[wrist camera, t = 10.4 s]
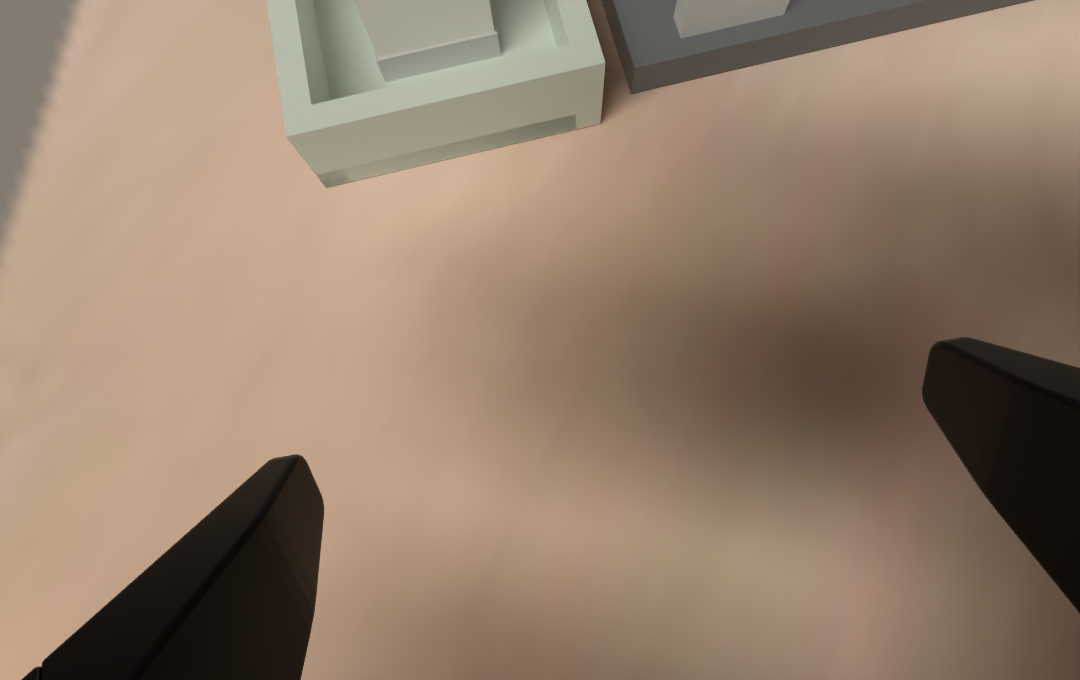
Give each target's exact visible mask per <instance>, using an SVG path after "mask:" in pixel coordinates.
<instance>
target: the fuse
mask: <svg viewBox="0 0 1080 680" xmlns="http://www.w3.org/2000/svg"><path fill="white" fill-rule="evenodd" d="M353 1H354V3H355V6H356V8H357V10H358V13H359V15H360V17H361V19H362V22H363V24H364V26H365V29H366V31H367V33H368V36H369V38H370V40H371V43H372V45H373V47H374V53H375V58H376V62H377V64H378V66H379V69H380V71H381V73H382V76H383V78H384V80H385V82H389V81H394V80H398V79H402V78H407V77H411V76H415V75H420V74H424V73H429V72H433V71H437V70H442V69H446V68H450V67H455V66H459V65H463V64H468V63H472V62H477V61H481V60H485V59H490V58H494V57H498V56H501V52H500V46H499V39H498V33H497V29H496V25H495V21H494V17H493V13H492V9H491V6H490V2H489V0H353Z"/></svg>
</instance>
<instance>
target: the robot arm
mask: <svg viewBox="0 0 1080 680" xmlns="http://www.w3.org/2000/svg"><path fill="white" fill-rule="evenodd" d="M922 396H923V400H924V403H925V405H926V407H927V409H928V410H929V412H930V413H931V415H932V417H933V418H934V420H935V421H936V423H937V424H938V426H939V427H940V429H941V430H942V432H943V433H944V435H945V436H946V438H947V440H948V441H949V443H950V444H951V446H952V447H953V449H954V450H955V452H956V453H957V455H958V456H959V458H960V459H961V461H962V462H963V464H964V466H965V467H966V469H967V470H968V472H969V473H970V475H971V476H972V478H973V479H974V481H975V482H976V484H977V485H978V487H979V488H980V489H981V491H982V492H983V494H984V495H985V496H986V498H987V499H988V500H989V502H990V503H991V504H992V505H993V507H994V508H995V509H996V511H997V512H998V513H999V514H1000V515H1001V517H1002V518H1003V519H1004V520H1005V522H1006V523H1007V524H1008V525H1009V527H1010V528H1011V529H1012V530H1013V532H1014V533H1015V534H1016V535H1017V536H1018V538H1019V539H1020V540H1021V541H1022V543H1023V544H1024V545H1025V546H1026V548H1027V549H1028V550H1029V551H1030V553H1031V554H1032V555H1033V556H1034V557H1035V559H1036V560H1037V561H1038V562H1039V564H1040V565H1041V566H1042V567H1043V569H1044V570H1045V571H1046V572H1047V574H1048V575H1049V576H1050V577H1051V578H1052V580H1053V581H1054V582H1055V583H1056V585H1057V586H1058V587H1059V588H1060V590H1061V591H1062V592H1063V593H1064V594H1065V596H1066V597H1067V598H1068V599H1069V601H1070V602H1071V603H1072V604H1073V606H1074V607H1075V608H1076V609H1077V611H1078V612H1079V613H1080V368H1078V367H1074V366H1071V365H1067V364H1063V363H1060V362H1056V361H1052V360H1049V359H1045V358H1042V357H1038V356H1034V355H1031V354H1027V353H1023V352H1020V351H1016V350H1012V349H1009V348H1005V347H1002V346H998V345H994V344H991V343H987V342H983V341H980V340H976V339H972V338H968V337H961V338H955V339H949V340H944V341H939V342H937V343H935V344H934V345H933V346H932V348H931V349H930V353H929V358H928V363H927V367H926V372H925V377H924V382H923V387H922ZM323 519H324V503H323V499H322V495H321V493H320V491H319V488H318V486H317V484H316V482H315V479H314V477H313V475H312V473H311V470H310V468H309V466H308V464H307V462H306V460H305V459H304V458H303V457H302V456H300V455H298V454H296V455H290V456H284V457H278V458H274V459H271V460H269V461H268V462H267V463H266V464H265V465H263V466H262V467H261V468H260V469H259V470H258V471H257V472H256V473H254V474H253V475H252V476H251V477H250V478H249V479H248V480H247V481H245V482H244V483H243V484H242V485H241V486H240V487H239V488H237V489H236V490H235V491H234V492H233V493H232V494H231V495H230V496H228V497H227V498H226V499H225V500H224V501H223V502H222V503H221V504H219V505H218V506H217V507H216V508H215V509H214V510H213V511H212V512H210V513H209V514H208V515H207V516H206V517H205V518H204V519H203V520H201V521H200V522H199V523H198V524H197V525H196V526H195V527H194V528H192V529H191V530H190V531H189V532H188V533H187V534H186V535H184V536H183V537H182V538H181V539H180V540H179V541H178V542H177V543H175V544H174V545H173V546H172V547H171V548H170V549H169V550H168V551H166V552H165V553H164V554H163V555H162V556H161V557H160V558H159V559H157V560H156V561H155V562H154V563H153V564H152V565H151V566H149V567H148V568H147V569H146V570H145V571H144V572H143V573H142V574H140V575H139V576H138V577H137V578H136V579H135V580H134V581H133V582H131V583H130V584H129V585H128V586H127V587H126V588H125V589H124V590H122V591H121V592H120V593H119V594H118V595H117V596H116V597H114V598H113V599H112V600H111V601H110V602H109V603H108V604H107V605H105V606H104V607H103V608H102V609H101V610H100V611H99V612H98V613H96V614H95V615H94V616H93V617H92V618H91V619H90V620H89V621H87V622H86V623H85V624H84V625H83V626H82V627H81V628H79V629H78V630H77V631H76V632H75V633H74V634H73V635H72V636H70V637H69V638H68V639H67V640H66V641H65V642H64V643H63V644H61V645H60V646H59V647H58V648H57V649H56V650H55V651H54V652H52V653H51V654H50V655H49V656H48V657H47V658H46V659H45V660H44V661H43V662H42V667H36V668H34V669H33V670H32V671H31V672H30V673H28V674H27V675H26V676H25V677H24V678H23V679H22V680H301V675H302V670H303V666H304V661H305V656H306V652H307V647H308V642H309V637H310V633H311V627H312V622H313V617H314V610H315V602H316V593H317V583H318V572H319V561H320V551H321V540H322V530H323Z"/></svg>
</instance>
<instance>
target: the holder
mask: <svg viewBox="0 0 1080 680" xmlns="http://www.w3.org/2000/svg"><path fill="white" fill-rule="evenodd" d="M1027 1H1032V0H602V3H603V6H604V10H605V13H606V16H607V19H608V22H609V25H610V29H611V32H612V35H613V38H614V41H615V45H616V48H617V51H618V54H619V57H620V60H621V64H622V67H623V70H624V73H625V76H626V80H627V83H628V86H629V89H630V92H631V94H632V93H636V92H641V91H645V90H649V89H653V88H658V87H662V86H666V85H671V84H675V83H679V82H684V81H688V80H692V79H696V78H701V77H705V76H709V75H714V74H718V73H722V72H727V71H731V70H735V69H739V68H744V67H748V66H752V65H757V64H761V63H765V62H770V61H774V60H778V59H782V58H787V57H791V56H795V55H800V54H804V53H808V52H813V51H817V50H821V49H825V48H830V47H834V46H838V45H843V44H847V43H851V42H855V41H860V40H864V39H868V38H873V37H877V36H881V35H886V34H890V33H894V32H898V31H903V30H907V29H911V28H916V27H920V26H924V25H929V24H933V23H937V22H941V21H946V20H950V19H954V18H959V17H963V16H967V15H972V14H976V13H980V12H984V11H989V10H993V9H997V8H1002V7H1006V6H1010V5H1015V4H1019V3H1023V2H1027Z"/></svg>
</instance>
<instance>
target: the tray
mask: <svg viewBox="0 0 1080 680" xmlns="http://www.w3.org/2000/svg"><path fill="white" fill-rule="evenodd" d="M489 2H490V6H491V9H492V13H493V17H494V21H495V25H496V29H497V33H498V39H499V46H500V52H501V56H498V57H494V58H490V59H485V60H481V61H477V62H472V63H468V64H463V65H459V66H455V67H450V68H446V69H442V70H437V71H433V72H429V73H424V74H420V75H415V76H411V77H407V78H402V79H398V80H394V81H389V82H385V80H384V78H383V76H382V73H381V71H380V69H379V66H378V64H377V62H376V58H375V53H374V47H373V45H372V43H371V40H370V38H369V36H368V33H367V31H366V29H365V26H364V24H363V22H362V19H361V17H360V15H359V13H358V10H357V8H356V6H355V3H354V1H353V0H267V6H268V13H269V20H270V27H271V34H272V41H273V48H274V55H275V62H276V69H277V76H278V83H279V90H280V97H281V104H282V111H283V118H284V125H285V132H286V137H287V138H288V140H289V141H290V142H291V144H292V145H293V146H294V147H295V149H296V150H297V151H298V153H299V154H300V155H301V156H302V158H303V159H304V160H305V161H306V163H307V164H308V165H309V167H310V168H311V169H312V170H313V172H314V173H315V174H316V176H317V177H318V178H319V179H320V181H321V182H322V183H323V184H324V186H325V187H326V188H327V187H331V186H335V185H340V184H344V183H348V182H353V181H357V180H361V179H365V178H370V177H374V176H378V175H383V174H387V173H391V172H395V171H400V170H404V169H408V168H413V167H417V166H421V165H425V164H430V163H434V162H438V161H443V160H447V159H451V158H456V157H460V156H464V155H468V154H473V153H477V152H481V151H486V150H490V149H494V148H498V147H503V146H507V145H511V144H516V143H520V142H524V141H528V140H533V139H537V138H541V137H546V136H550V135H554V134H558V133H563V132H567V131H571V130H576V129H580V128H584V127H588V126H593V125H597V124H600V123H601V111H602V98H603V86H604V74H605V60H604V56H603V53H602V50H601V47H600V43H599V40H598V37H597V34H596V30H595V27H594V24H593V21H592V17H591V14H590V11H589V7H588V4H587V1H586V0H489Z"/></svg>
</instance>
